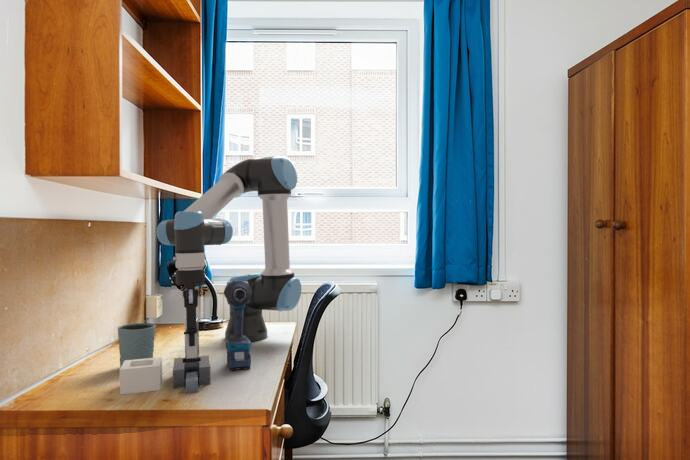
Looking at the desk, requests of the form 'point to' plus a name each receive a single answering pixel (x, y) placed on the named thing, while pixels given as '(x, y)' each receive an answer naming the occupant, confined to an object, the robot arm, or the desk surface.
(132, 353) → the grey-green cup
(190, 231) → the robot arm
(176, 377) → the socket block
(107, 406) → the desk surface
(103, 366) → the desk surface
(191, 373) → the blue-grey rectangular bar
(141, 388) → the block
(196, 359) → the silver rounded rod
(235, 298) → the impact wrench
